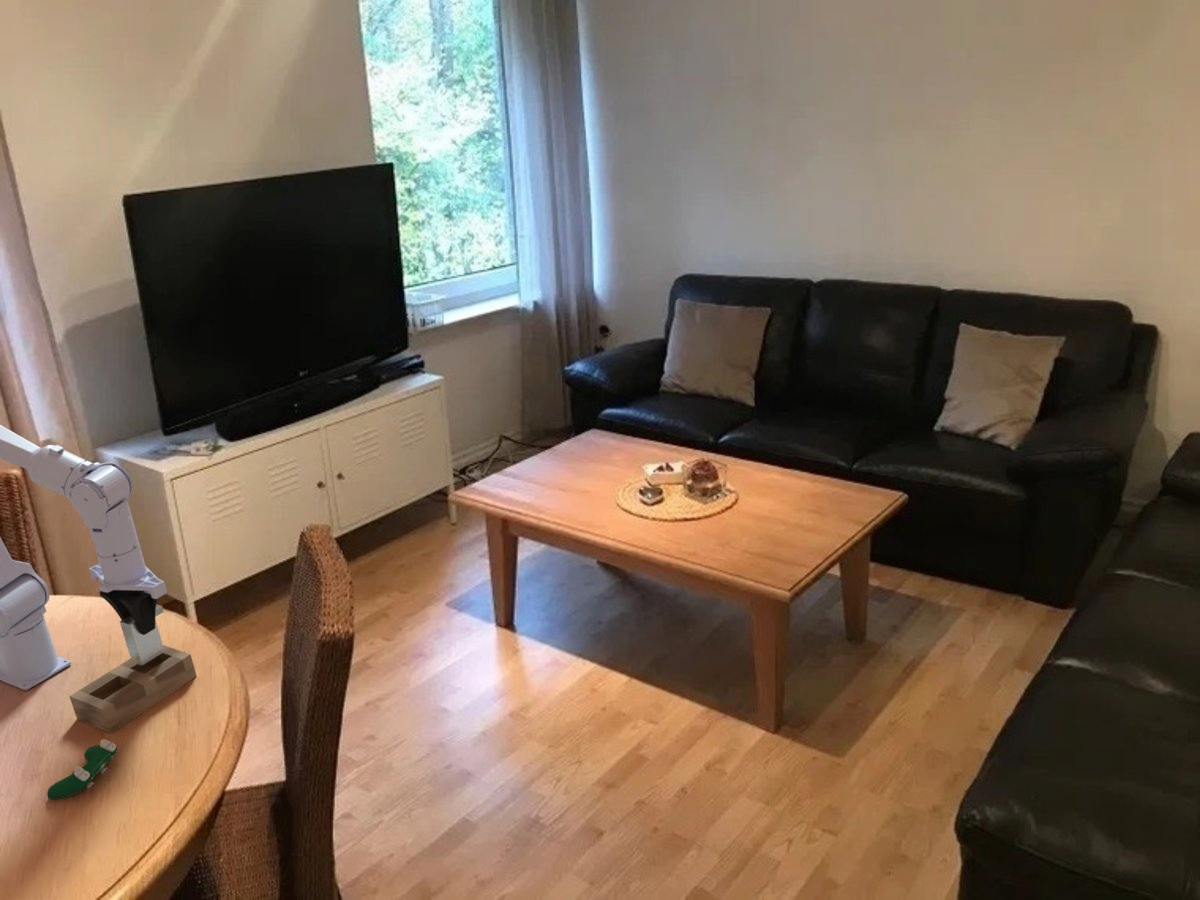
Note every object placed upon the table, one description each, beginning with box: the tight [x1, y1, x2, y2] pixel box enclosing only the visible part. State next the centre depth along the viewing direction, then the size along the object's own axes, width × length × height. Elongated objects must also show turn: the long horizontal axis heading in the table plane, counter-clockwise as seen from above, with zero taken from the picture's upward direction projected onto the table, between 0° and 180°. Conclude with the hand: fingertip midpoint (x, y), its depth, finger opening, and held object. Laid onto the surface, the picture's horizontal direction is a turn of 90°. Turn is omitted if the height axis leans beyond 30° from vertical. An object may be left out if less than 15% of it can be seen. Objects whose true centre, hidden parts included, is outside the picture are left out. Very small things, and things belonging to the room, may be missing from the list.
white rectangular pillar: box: [119, 603, 165, 665], centre depth 157 cm, size 2×6×7 cm, turn 149°
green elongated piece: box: [46, 738, 118, 800], centre depth 140 cm, size 9×4×6 cm
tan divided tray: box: [69, 644, 197, 734], centre depth 157 cm, size 8×15×4 cm, turn 149°
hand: (141, 629), depth 156 cm, fingers closed on white rectangular pillar, 2 cm apart
